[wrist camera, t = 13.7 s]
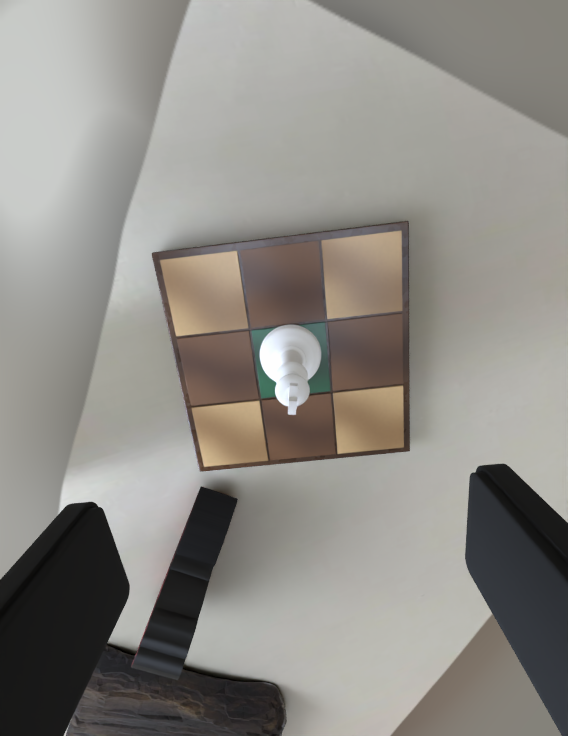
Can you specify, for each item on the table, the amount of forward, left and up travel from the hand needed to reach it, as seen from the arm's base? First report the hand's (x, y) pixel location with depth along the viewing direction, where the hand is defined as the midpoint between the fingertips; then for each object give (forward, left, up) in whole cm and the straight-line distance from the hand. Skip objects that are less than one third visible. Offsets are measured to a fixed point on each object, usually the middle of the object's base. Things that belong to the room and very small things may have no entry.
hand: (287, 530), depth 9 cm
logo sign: (+20, -12, -21) cm, 31 cm away
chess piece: (+1, 0, -20) cm, 20 cm away
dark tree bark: (+44, -18, -21) cm, 52 cm away
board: (+1, 0, -21) cm, 21 cm away
